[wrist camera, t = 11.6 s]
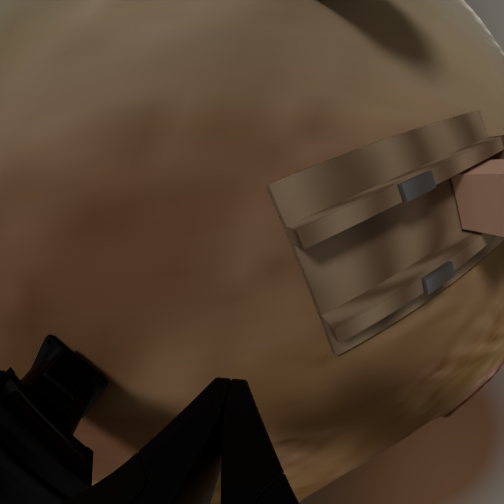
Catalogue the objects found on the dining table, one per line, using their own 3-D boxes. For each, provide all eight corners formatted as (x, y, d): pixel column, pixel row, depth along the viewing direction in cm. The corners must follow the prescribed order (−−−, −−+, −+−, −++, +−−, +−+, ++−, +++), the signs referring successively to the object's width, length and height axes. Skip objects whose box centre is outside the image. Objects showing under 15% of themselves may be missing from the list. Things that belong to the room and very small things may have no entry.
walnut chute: (332, 351, 22) (351, 377, 18) (266, 185, 19) (278, 182, 15) (503, 235, 23) (528, 240, 19) (474, 111, 20) (500, 105, 16)
